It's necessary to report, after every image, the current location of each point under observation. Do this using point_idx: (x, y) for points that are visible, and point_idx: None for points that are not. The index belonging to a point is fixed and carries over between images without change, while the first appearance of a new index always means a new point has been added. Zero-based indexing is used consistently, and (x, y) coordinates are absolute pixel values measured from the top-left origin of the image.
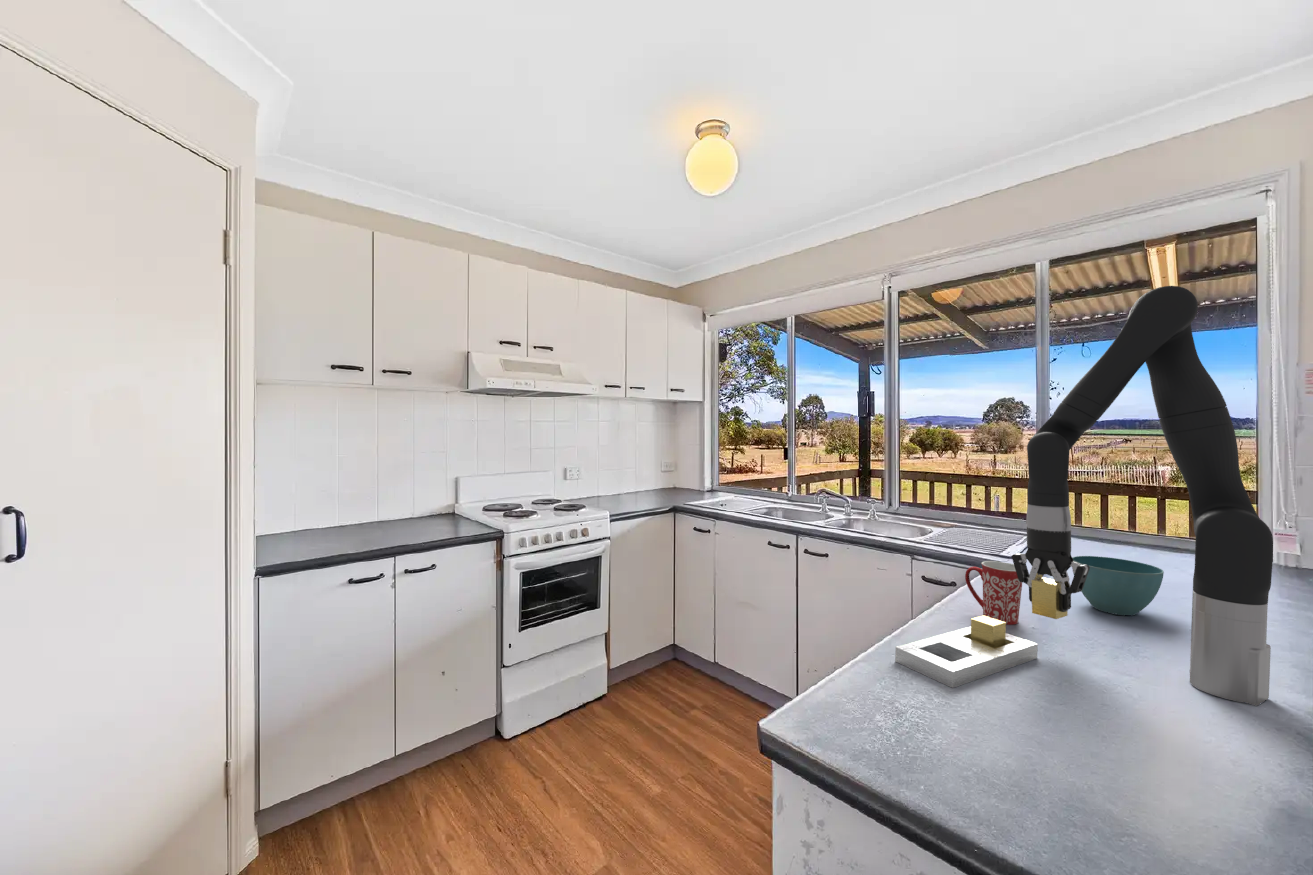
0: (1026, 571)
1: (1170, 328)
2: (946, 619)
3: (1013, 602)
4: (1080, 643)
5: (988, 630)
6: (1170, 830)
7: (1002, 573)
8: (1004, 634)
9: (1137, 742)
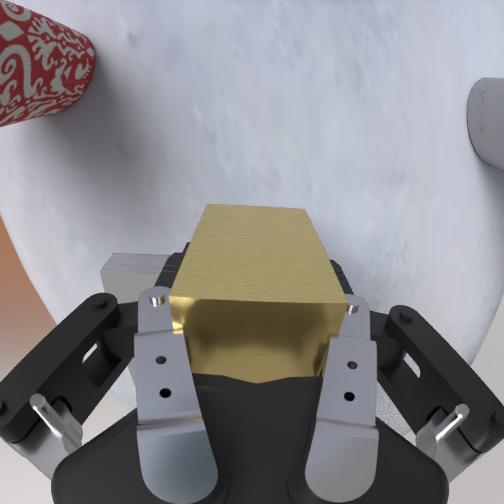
0: (86, 348)
1: None
2: (22, 211)
3: (55, 75)
4: (265, 40)
5: None
6: (403, 427)
7: None
8: None
9: None
